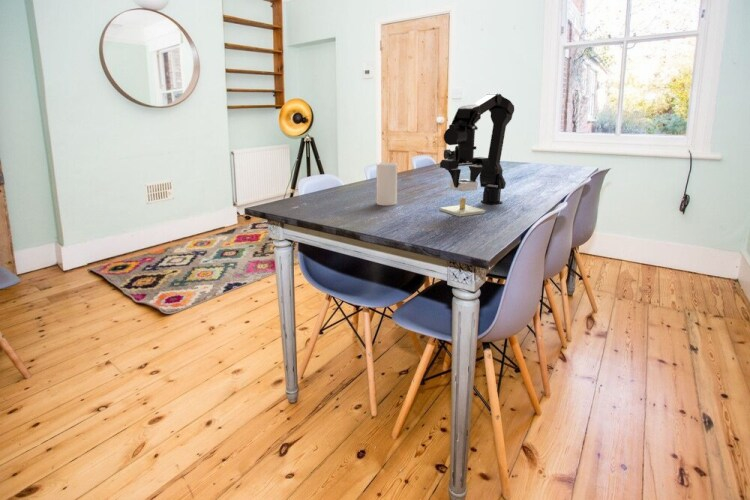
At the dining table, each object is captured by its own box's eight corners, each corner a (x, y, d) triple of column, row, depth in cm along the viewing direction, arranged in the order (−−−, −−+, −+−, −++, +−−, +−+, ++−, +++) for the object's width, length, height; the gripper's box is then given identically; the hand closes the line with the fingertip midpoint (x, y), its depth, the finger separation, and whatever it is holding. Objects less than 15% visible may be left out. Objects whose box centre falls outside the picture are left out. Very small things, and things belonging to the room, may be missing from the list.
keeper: (464, 206, 179) (465, 194, 178) (485, 212, 169) (486, 199, 168) (439, 210, 174) (440, 197, 172) (459, 216, 164) (460, 202, 162)
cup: (395, 205, 182) (395, 165, 177) (374, 205, 183) (374, 164, 178) (398, 201, 189) (398, 162, 184) (378, 201, 191) (378, 162, 186)
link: (464, 186, 174) (465, 179, 173) (477, 189, 168) (477, 181, 167) (450, 188, 170) (450, 180, 170) (462, 191, 165) (462, 183, 164)
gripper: (471, 140, 175) (469, 181, 180) (431, 142, 166) (430, 185, 171) (491, 142, 166) (488, 185, 171) (450, 145, 157) (448, 190, 162)
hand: (463, 186), depth 169 cm, fingers closed on link, 7 cm apart
